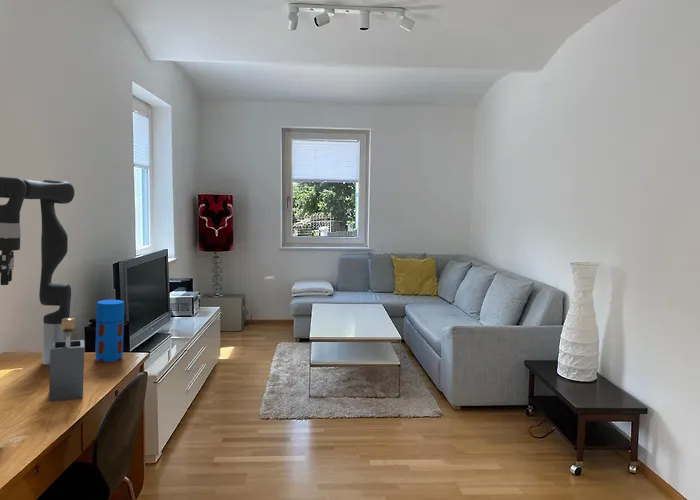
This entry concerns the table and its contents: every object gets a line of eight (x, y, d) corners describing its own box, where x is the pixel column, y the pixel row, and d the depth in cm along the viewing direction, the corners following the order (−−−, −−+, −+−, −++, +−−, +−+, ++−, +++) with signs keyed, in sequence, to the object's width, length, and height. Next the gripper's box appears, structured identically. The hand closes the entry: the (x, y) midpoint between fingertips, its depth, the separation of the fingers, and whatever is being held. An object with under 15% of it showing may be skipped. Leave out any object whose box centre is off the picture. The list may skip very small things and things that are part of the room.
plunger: (56, 388, 172) (57, 317, 170) (77, 386, 175) (79, 316, 173) (55, 395, 166) (56, 321, 164) (77, 393, 169) (79, 320, 167)
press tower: (50, 391, 172) (51, 341, 171) (82, 388, 177) (84, 339, 176) (48, 401, 164) (50, 349, 162) (82, 398, 168) (84, 347, 167)
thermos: (111, 363, 206) (113, 305, 204) (89, 360, 208) (90, 302, 207) (127, 356, 217) (129, 301, 215) (106, 353, 219) (108, 298, 217)
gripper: (-4, 234, 171) (-4, 280, 172) (-10, 237, 158) (-11, 286, 159) (22, 235, 174) (21, 280, 175) (17, 237, 162) (17, 286, 163)
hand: (6, 283), depth 167 cm, fingers open, 8 cm apart
